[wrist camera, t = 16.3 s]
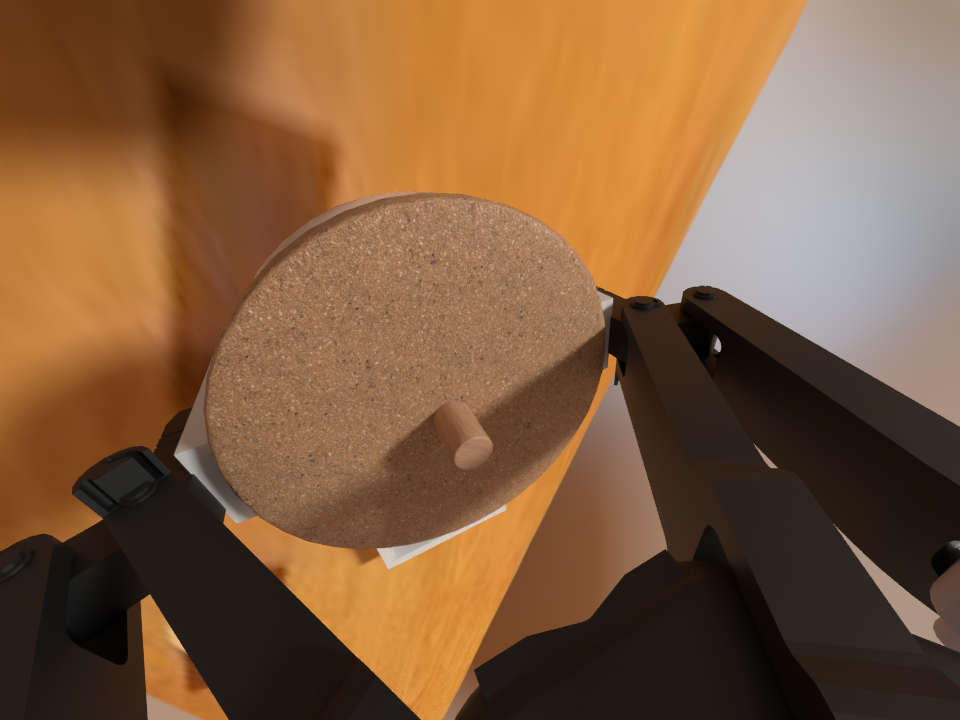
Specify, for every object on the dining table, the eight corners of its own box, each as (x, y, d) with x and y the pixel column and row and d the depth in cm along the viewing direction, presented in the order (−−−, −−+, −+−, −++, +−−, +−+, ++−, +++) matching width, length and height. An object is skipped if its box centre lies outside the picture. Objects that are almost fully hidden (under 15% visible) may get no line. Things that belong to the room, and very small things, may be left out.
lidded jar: (428, 431, 20) (506, 596, 13) (199, 370, 14) (87, 630, 6) (537, 264, 18) (709, 346, 10) (322, 100, 11) (370, 13, 4)
